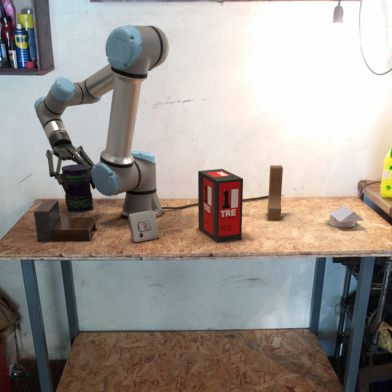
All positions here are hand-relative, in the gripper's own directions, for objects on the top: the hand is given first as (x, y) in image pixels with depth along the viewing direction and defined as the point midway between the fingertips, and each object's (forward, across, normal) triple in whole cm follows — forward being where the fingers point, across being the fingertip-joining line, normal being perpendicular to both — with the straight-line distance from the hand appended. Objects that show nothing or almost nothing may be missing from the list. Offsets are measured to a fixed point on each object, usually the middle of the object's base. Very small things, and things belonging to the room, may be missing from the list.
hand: (81, 189), depth 204 cm
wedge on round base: (+50, -74, +31) cm, 95 cm away
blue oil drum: (+3, 0, -8) cm, 9 cm away
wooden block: (+34, -61, +15) cm, 72 cm away
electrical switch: (+29, -8, +11) cm, 32 cm away
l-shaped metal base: (+15, +10, -2) cm, 19 cm away
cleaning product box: (+37, -32, +18) cm, 52 cm away
